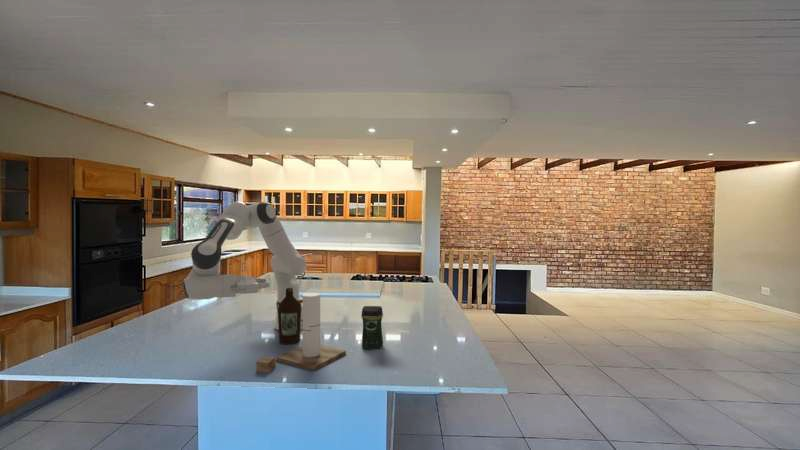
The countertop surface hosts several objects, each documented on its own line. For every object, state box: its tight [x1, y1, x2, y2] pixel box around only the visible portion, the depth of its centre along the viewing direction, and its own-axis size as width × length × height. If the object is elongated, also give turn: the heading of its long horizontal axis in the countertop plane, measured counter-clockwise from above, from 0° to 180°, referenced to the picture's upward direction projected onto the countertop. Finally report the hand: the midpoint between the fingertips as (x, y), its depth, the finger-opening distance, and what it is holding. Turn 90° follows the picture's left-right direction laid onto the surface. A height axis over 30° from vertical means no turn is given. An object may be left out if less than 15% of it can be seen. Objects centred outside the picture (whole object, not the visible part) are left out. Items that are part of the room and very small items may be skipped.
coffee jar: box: [360, 305, 384, 350], centre depth 172 cm, size 10×8×19 cm
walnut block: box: [255, 356, 277, 374], centre depth 147 cm, size 5×5×4 cm
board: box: [276, 344, 347, 372], centre depth 159 cm, size 20×20×2 cm
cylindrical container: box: [302, 292, 321, 357], centre depth 159 cm, size 7×7×25 cm
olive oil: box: [278, 288, 302, 345], centre depth 179 cm, size 11×11×25 cm
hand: (267, 282), depth 155 cm, fingers open, 8 cm apart
